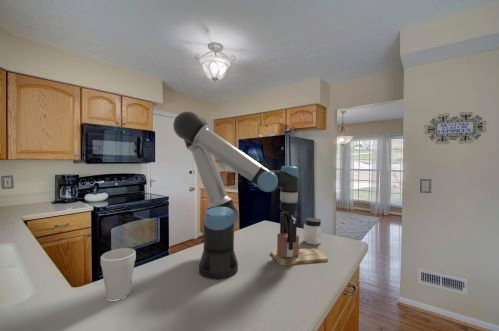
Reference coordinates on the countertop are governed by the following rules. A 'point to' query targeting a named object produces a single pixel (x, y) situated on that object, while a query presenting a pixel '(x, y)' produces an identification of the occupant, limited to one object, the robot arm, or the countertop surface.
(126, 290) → the foam cup
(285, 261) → the board
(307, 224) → the jar
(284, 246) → the block
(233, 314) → the countertop surface
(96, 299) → the countertop surface
